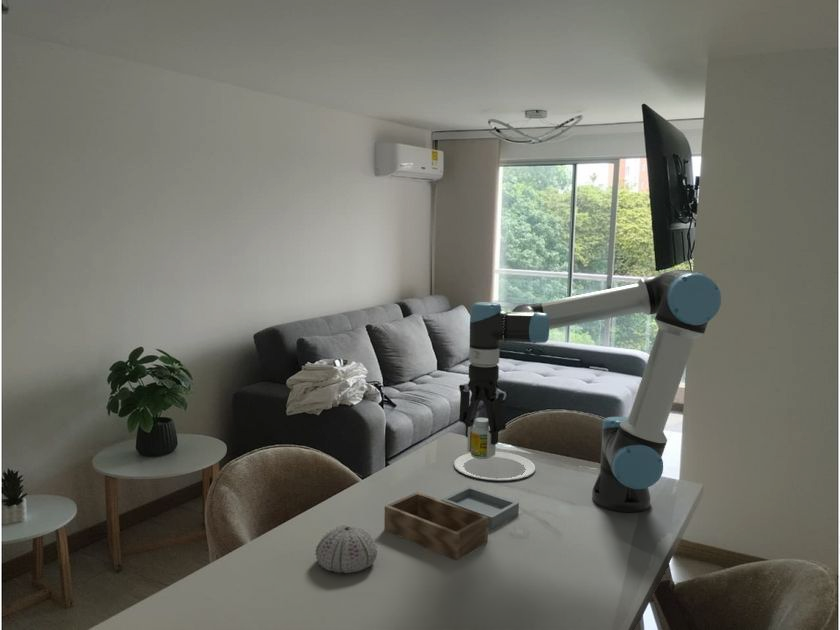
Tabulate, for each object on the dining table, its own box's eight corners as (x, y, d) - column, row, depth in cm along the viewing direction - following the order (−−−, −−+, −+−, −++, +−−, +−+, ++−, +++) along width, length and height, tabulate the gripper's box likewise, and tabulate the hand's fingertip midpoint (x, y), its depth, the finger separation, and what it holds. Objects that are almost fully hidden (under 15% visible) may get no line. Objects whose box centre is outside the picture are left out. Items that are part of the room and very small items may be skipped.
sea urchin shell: (304, 559, 149) (304, 525, 148) (357, 543, 157) (357, 510, 156) (335, 585, 138) (335, 548, 137) (389, 566, 146) (390, 531, 145)
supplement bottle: (482, 451, 176) (483, 415, 175) (496, 457, 172) (497, 420, 170) (466, 454, 173) (467, 418, 172) (479, 461, 169) (480, 423, 167)
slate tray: (518, 513, 174) (518, 502, 173) (491, 529, 165) (492, 517, 164) (468, 496, 184) (468, 486, 184) (440, 510, 175) (441, 499, 175)
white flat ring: (548, 464, 211) (548, 460, 211) (514, 490, 190) (514, 486, 190) (477, 449, 224) (477, 445, 224) (438, 471, 204) (438, 467, 203)
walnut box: (487, 541, 158) (488, 517, 158) (456, 560, 149) (456, 534, 149) (416, 514, 173) (417, 491, 172) (384, 529, 164) (384, 506, 163)
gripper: (445, 360, 172) (443, 448, 175) (506, 371, 160) (503, 465, 164) (463, 356, 178) (461, 441, 181) (523, 367, 166) (519, 458, 169)
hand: (481, 453), depth 172 cm, fingers closed on supplement bottle, 5 cm apart
